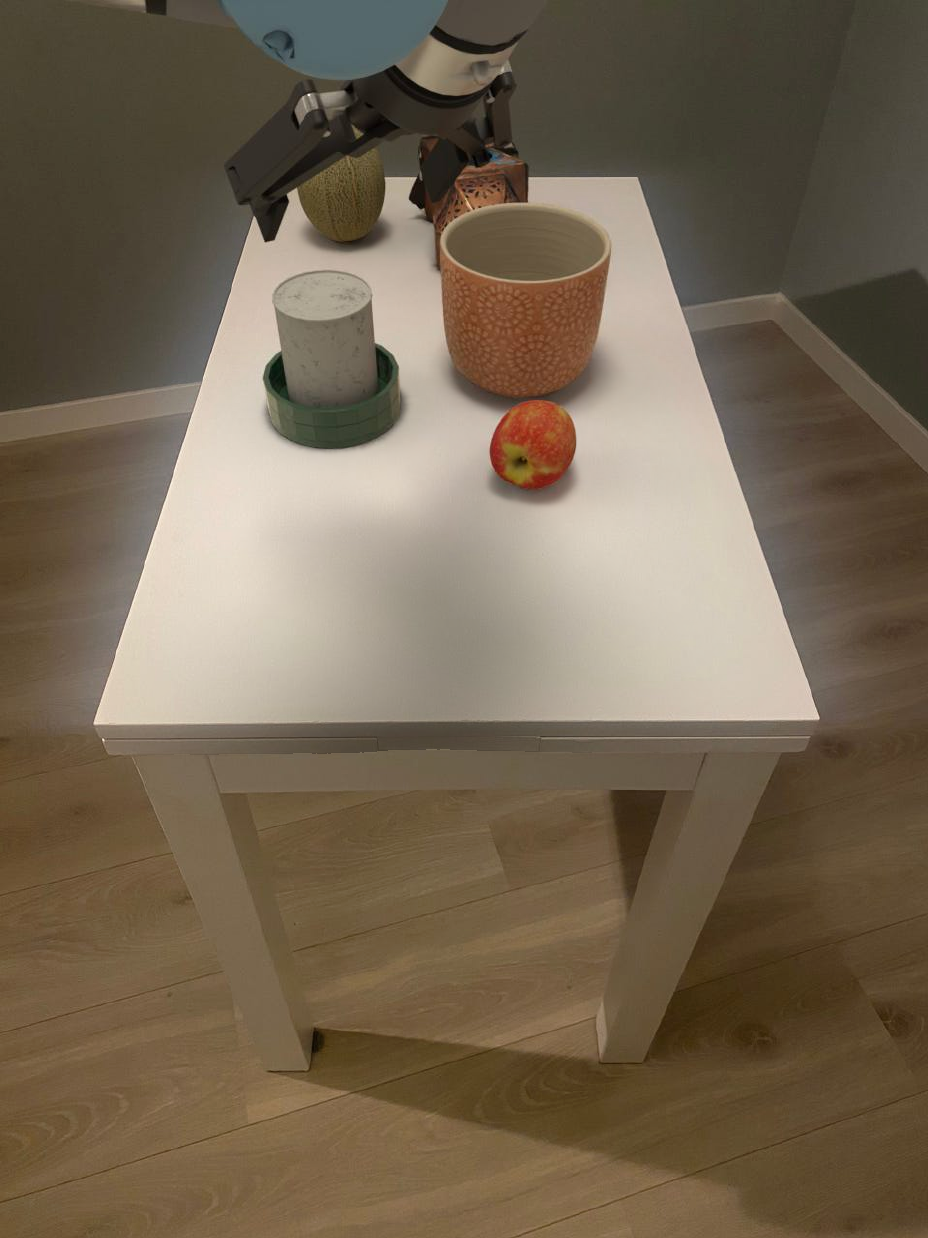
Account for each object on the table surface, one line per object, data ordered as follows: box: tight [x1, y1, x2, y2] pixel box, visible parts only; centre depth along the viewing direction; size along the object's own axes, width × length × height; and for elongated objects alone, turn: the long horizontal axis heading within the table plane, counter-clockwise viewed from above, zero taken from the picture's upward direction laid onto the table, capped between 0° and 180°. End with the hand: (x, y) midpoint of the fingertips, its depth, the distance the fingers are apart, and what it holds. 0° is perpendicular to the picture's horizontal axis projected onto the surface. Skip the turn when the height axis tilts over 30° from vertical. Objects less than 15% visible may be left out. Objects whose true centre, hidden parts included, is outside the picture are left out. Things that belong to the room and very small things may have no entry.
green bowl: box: [262, 342, 401, 449], centre depth 98 cm, size 14×14×4 cm
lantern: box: [408, 134, 530, 270], centre depth 118 cm, size 16×16×25 cm
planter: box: [440, 202, 612, 399], centre depth 98 cm, size 17×17×15 cm
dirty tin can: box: [271, 269, 379, 408], centre depth 94 cm, size 10×10×12 cm
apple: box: [489, 399, 577, 490], centre depth 89 cm, size 8×8×8 cm
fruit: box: [296, 125, 387, 243], centre depth 120 cm, size 11×11×15 cm
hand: (348, 203), depth 70 cm, fingers open, 13 cm apart
